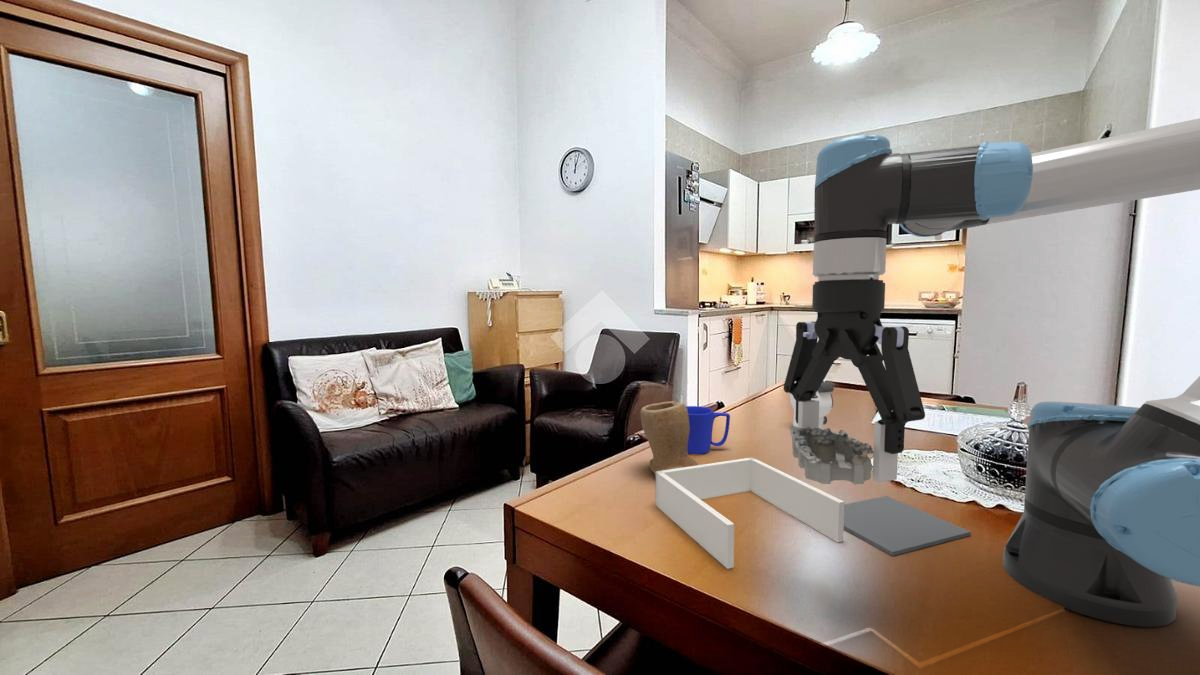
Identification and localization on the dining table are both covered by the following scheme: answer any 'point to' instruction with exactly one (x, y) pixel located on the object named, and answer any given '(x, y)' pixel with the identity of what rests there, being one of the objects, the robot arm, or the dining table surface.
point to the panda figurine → (824, 402)
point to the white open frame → (711, 529)
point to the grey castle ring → (831, 455)
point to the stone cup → (667, 435)
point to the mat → (897, 525)
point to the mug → (703, 429)
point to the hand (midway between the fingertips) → (842, 463)
